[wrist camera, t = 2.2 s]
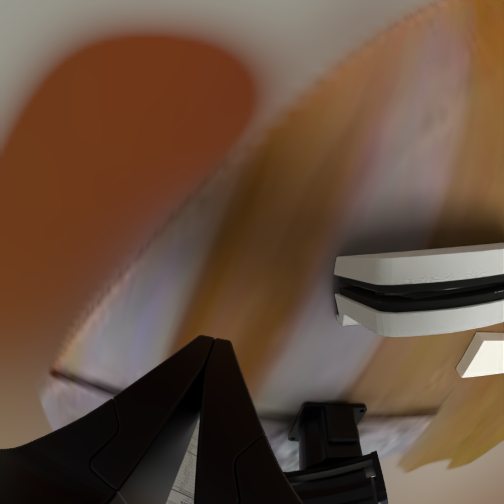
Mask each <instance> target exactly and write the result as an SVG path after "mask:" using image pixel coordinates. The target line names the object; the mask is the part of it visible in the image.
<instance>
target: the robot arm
mask: <svg viewBox="0 0 504 504" xmlns="http://www.w3.org/2000/svg"><path fill="white" fill-rule="evenodd" d="M366 411H367V408H366V406H365V405H344V404H322V403H305V404H303V406H302V408H301V410H300V412H299V414H298V417H297V419H296V421H295V423H294V425H293V427H292V429H291V431H290V433H289V435H288V440H290V441H299V470H298V471H292V472H283V471H282V469H281V468H280V466H279V464H278V462H277V459H276V457H275V455H274V453H273V451H272V449H271V446H270V444H269V441H268V439H267V437H266V435H265V432H264V429H263V427H262V424H261V422H260V419H259V417H258V414H257V412H256V409H255V406H254V404H253V401H252V399H251V396H250V393H249V391H248V388H247V385H246V382H245V380H244V377H243V374H242V372H241V369H240V366H239V363H238V360H237V358H236V355H235V352H234V349H233V346H232V343H231V341H229V340H225V339H219V338H217V339H214V338H213V337H209V336H204V335H199V336H198V337H196V338H195V339H194V340H192V341H191V342H190V343H188V344H187V345H185V346H184V347H183V348H181V349H180V350H179V351H177V352H176V353H175V354H173V355H172V356H170V357H169V358H168V359H166V360H165V361H164V362H162V363H161V364H159V365H158V366H157V367H155V368H154V369H153V370H151V371H150V372H148V373H147V374H146V375H144V376H143V377H141V378H140V379H138V380H137V381H136V382H134V383H133V384H131V385H130V386H129V387H127V388H126V389H124V390H123V391H121V392H120V393H119V394H117V395H116V396H114V397H113V399H110V400H108V401H107V402H105V403H104V404H102V405H101V406H99V407H98V408H96V409H95V410H93V411H91V412H90V413H88V414H87V415H85V416H83V417H81V418H80V419H78V420H76V421H74V422H72V423H70V424H68V425H66V426H64V427H62V428H60V429H58V430H56V431H54V432H51V433H49V434H47V435H45V436H43V437H41V438H38V439H36V440H34V441H32V442H29V443H27V444H24V445H22V446H19V447H15V448H9V449H0V504H166V502H167V500H168V497H169V494H170V492H171V489H172V487H173V484H174V482H175V479H176V477H177V474H178V472H179V469H180V466H181V464H182V461H183V459H184V456H185V454H186V451H187V448H188V446H189V443H190V441H191V438H192V435H193V433H194V430H195V428H196V425H197V422H198V420H199V417H200V421H199V433H198V445H197V458H196V473H195V489H194V504H388V499H387V493H386V488H385V483H384V479H383V474H382V470H381V466H380V462H379V458H378V454H377V451H374V452H371V454H367V455H364V456H363V455H362V450H361V445H360V440H359V439H360V438H359V433H358V428H357V424H358V423H359V421H360V420H361V418H362V417H363V415H364V414H365V412H366ZM371 476H375V477H373V478H372V477H371ZM367 477H368V478H367Z"/></svg>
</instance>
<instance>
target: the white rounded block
mask: <svg viewBox="0 0 504 504" xmlns="http://www.w3.org/2000/svg"><path fill="white" fill-rule="evenodd" d="M334 275H338V276H339V281H341V282H345V283H348V284H352V285H355V286H354V287H342V288H340V293H339V294H335V298H336V303H337V307H338V312H339V314H337V315H336V316H337V321H338V322H339V323H340V325H341V326H347V325H356V324H361V325H363V326H364V327H366V328H368V329H369V330H371V331H373V332H374V333H376V334H378V335H382V336H387V337H407V336H424V335H434V334H444V333H452V332H458V331H464V330H470V329H475V328H480V327H485V326H489V325H493V324H497V323H501V322H504V243H493V244H483V245H472V246H461V247H450V248H438V249H426V250H415V251H403V252H390V253H378V254H365V255H352V256H339V257H337V259H336V263H335V269H334Z"/></svg>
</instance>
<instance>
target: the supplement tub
mask: <svg viewBox="0 0 504 504" xmlns="http://www.w3.org/2000/svg"><path fill="white" fill-rule="evenodd" d="M199 421H200V417H199V420H198V422H197V425H196V428H195V430H194V433H193V435H192V438H191V441H190V443H189V446H188V448H187V451H186V454H185V456H184V459H183V461H182V464H181V466H180V469H179V472H178V474H177V477H176V479H175V482H174V484H173V487H172V489H171V492H170V494H169V497H168V500H167V502H166V504H194V489H195V473H196V458H197V445H198V433H199Z"/></svg>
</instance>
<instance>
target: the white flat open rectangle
mask: <svg viewBox="0 0 504 504" xmlns="http://www.w3.org/2000/svg"><path fill="white" fill-rule="evenodd" d="M456 370H457V371H458V373H459V374H460V376H461V378H464V377H475V376H484V375H492V374H499V373H504V333H491V332H476V334H475V336H474V338H473V340H472V341H471V343H470V345H469V347H468V349H467V350H466V352H465V354H464V356H463V357H462V359H461V361H460V362H459V364H458V366H457V367H456Z"/></svg>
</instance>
